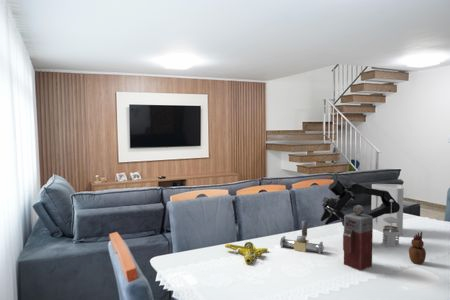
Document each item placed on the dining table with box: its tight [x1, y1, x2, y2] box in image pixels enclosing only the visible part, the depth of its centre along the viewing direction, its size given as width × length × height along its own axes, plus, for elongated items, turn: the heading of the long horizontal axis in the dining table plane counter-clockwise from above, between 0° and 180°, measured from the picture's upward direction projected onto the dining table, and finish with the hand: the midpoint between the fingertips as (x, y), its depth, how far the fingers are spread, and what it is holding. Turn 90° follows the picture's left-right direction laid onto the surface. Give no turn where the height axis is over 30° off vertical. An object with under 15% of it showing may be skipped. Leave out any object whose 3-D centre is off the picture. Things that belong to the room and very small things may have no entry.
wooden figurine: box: [408, 230, 427, 265], centre depth 155 cm, size 7×6×15 cm
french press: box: [380, 199, 401, 249], centre depth 180 cm, size 10×12×25 cm
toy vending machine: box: [342, 204, 374, 271], centre depth 152 cm, size 9×11×28 cm
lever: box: [296, 220, 308, 242], centre depth 177 cm, size 11×4×8 cm, turn 154°
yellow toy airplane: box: [224, 241, 268, 265], centre depth 165 cm, size 22×6×20 cm
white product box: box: [370, 183, 404, 237], centre depth 205 cm, size 19×15×28 cm
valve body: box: [279, 235, 324, 255], centre depth 174 cm, size 22×6×5 cm, turn 61°
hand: (323, 222), depth 182 cm, fingers open, 6 cm apart
